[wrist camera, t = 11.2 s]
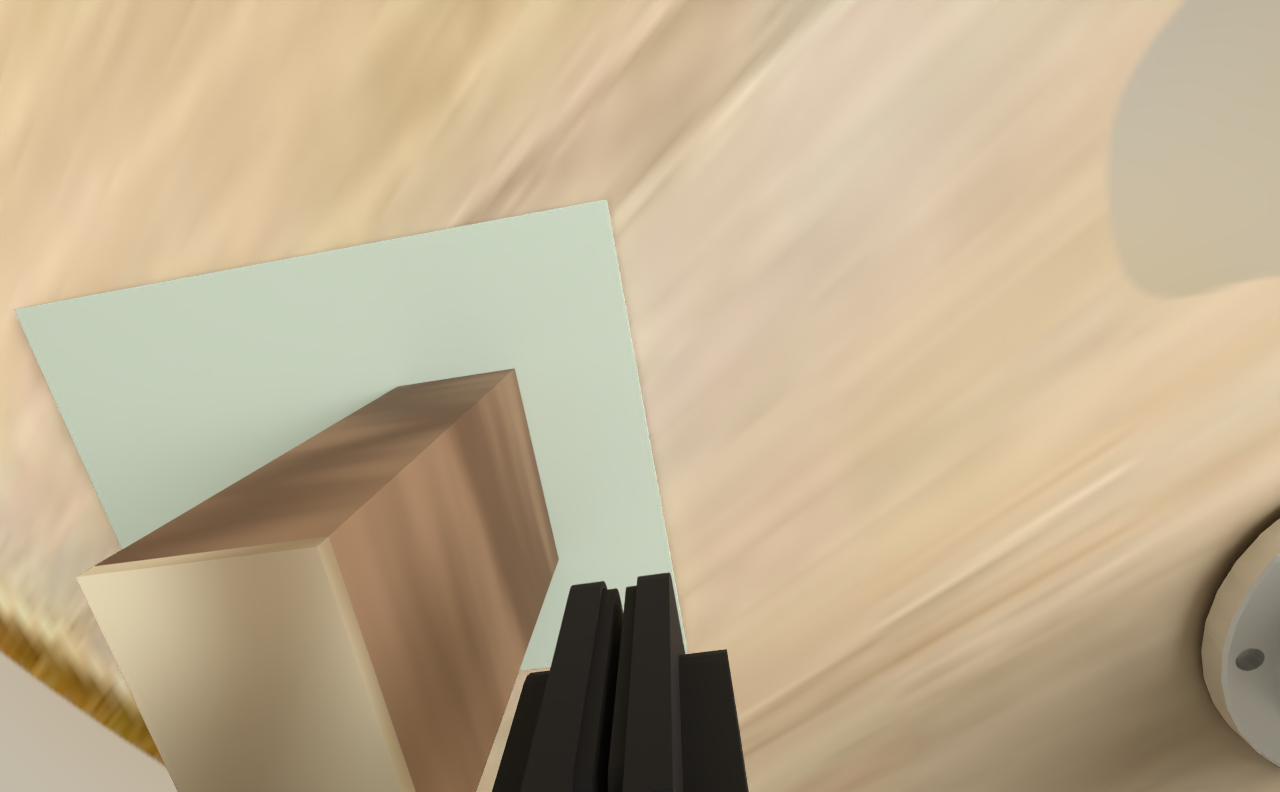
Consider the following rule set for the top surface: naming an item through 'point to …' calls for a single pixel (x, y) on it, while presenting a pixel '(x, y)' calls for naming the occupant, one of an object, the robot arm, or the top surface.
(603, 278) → the sage mat
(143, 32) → the top surface
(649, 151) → the top surface
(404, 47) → the top surface
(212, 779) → the walnut slab
